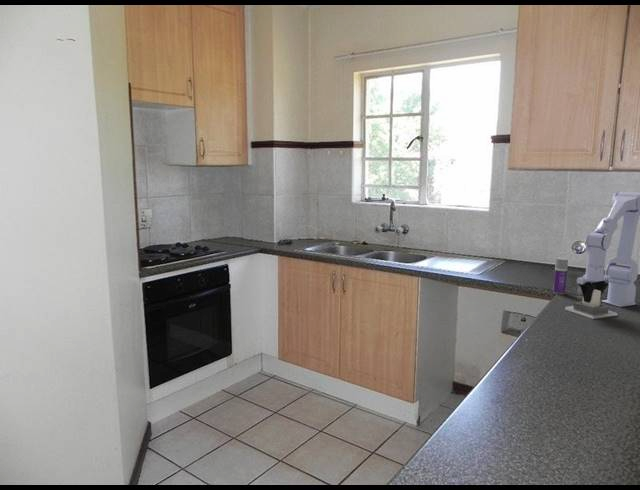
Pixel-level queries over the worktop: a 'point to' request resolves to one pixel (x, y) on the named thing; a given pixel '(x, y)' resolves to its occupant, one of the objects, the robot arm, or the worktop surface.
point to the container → (560, 276)
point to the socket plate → (591, 310)
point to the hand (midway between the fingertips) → (591, 301)
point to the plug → (593, 299)
